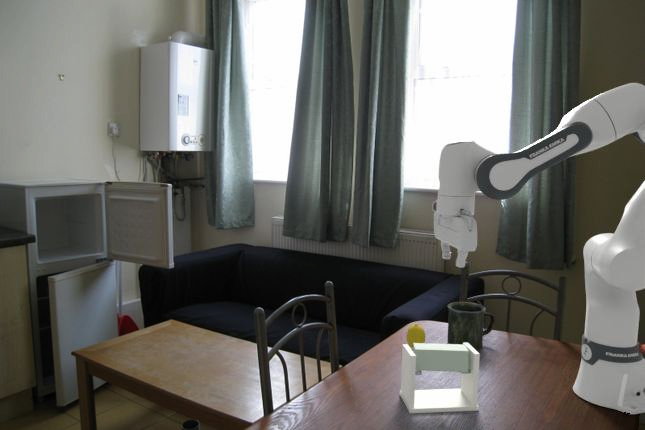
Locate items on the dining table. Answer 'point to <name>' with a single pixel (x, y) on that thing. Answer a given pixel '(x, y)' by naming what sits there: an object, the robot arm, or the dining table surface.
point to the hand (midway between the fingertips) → (453, 262)
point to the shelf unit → (439, 397)
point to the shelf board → (441, 357)
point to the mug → (467, 323)
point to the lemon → (415, 335)
